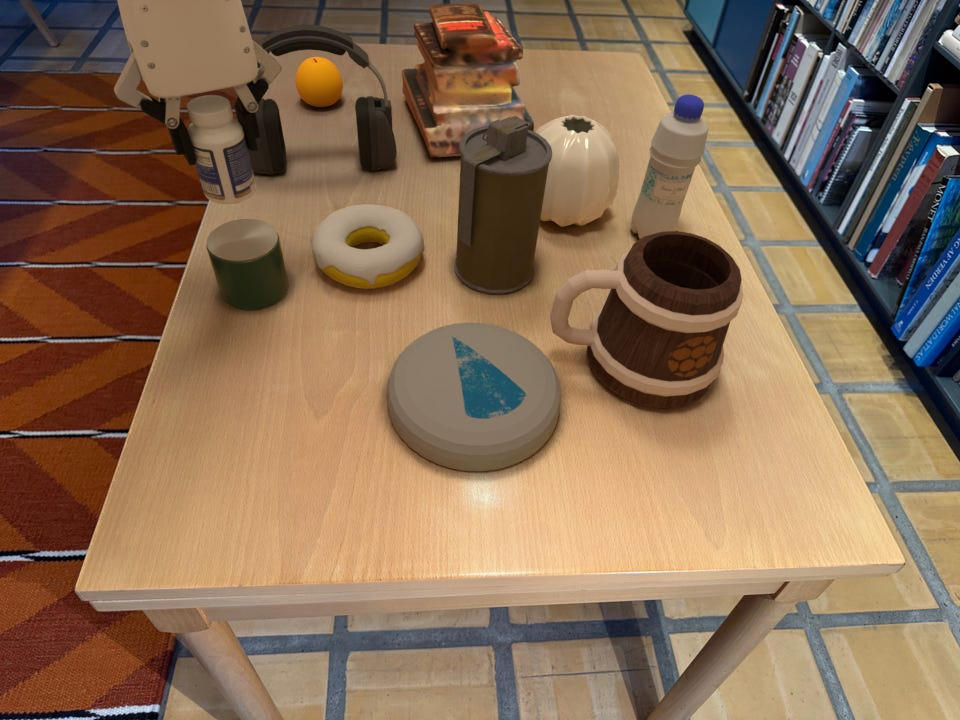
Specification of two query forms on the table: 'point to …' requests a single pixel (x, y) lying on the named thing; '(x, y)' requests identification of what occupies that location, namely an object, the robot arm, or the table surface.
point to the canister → (500, 205)
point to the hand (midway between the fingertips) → (219, 150)
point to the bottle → (670, 167)
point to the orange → (319, 82)
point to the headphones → (370, 111)
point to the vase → (578, 170)
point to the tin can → (248, 264)
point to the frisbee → (473, 397)
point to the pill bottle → (220, 150)
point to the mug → (657, 318)
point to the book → (462, 76)
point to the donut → (371, 264)
